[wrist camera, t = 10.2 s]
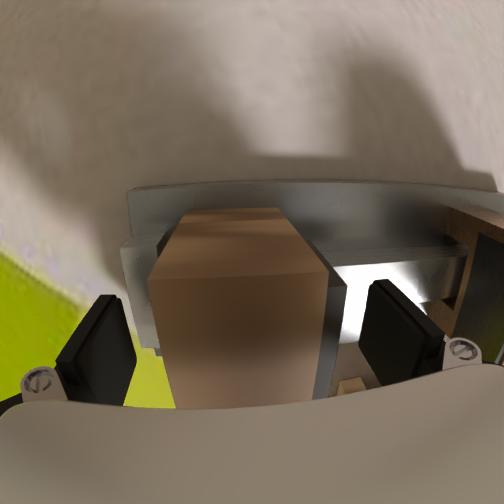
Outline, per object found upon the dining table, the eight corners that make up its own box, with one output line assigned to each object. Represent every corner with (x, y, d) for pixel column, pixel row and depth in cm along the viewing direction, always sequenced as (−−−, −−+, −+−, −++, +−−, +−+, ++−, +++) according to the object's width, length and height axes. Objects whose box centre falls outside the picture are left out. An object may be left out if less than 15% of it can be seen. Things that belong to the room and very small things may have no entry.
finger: (199, 342, 15) (190, 453, 9) (186, 210, 13) (146, 279, 6) (286, 337, 15) (318, 444, 9) (291, 207, 13) (353, 270, 7)
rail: (159, 343, 16) (131, 460, 9) (134, 188, 13) (39, 241, 6) (474, 306, 18) (540, 363, 10) (498, 191, 15) (586, 225, 7)
